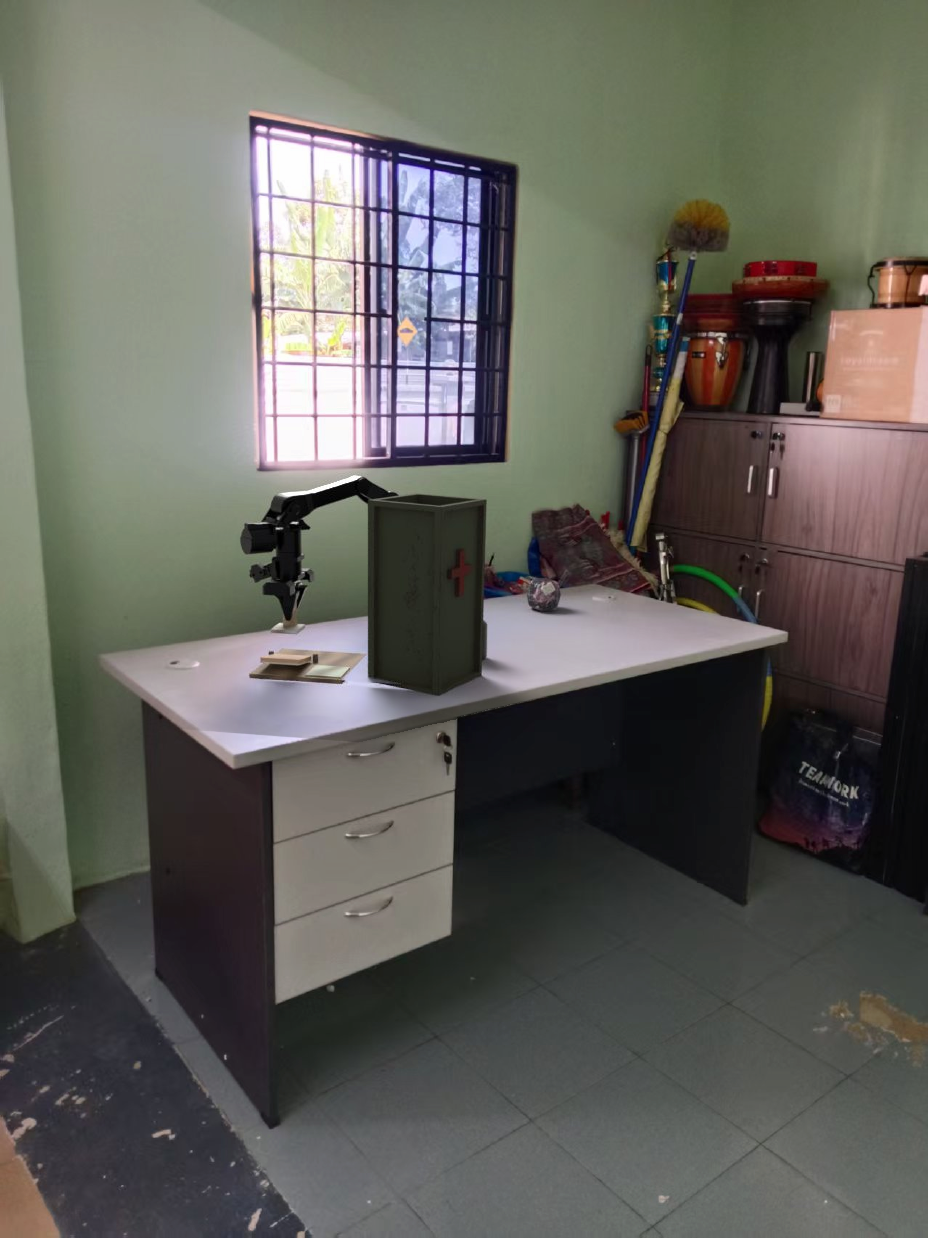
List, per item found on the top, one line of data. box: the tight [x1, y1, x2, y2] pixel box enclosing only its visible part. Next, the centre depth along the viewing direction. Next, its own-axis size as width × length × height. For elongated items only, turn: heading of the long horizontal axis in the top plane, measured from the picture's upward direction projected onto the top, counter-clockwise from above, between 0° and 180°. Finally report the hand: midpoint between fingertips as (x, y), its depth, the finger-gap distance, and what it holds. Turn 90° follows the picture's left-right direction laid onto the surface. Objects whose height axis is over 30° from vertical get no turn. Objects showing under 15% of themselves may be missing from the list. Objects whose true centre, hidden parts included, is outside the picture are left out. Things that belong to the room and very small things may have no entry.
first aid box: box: [367, 492, 488, 697], centre depth 215 cm, size 18×18×40 cm
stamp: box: [270, 602, 306, 635], centre depth 219 cm, size 6×6×8 cm
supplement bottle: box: [482, 614, 488, 661], centre depth 235 cm, size 7×7×12 cm
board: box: [248, 648, 367, 685], centre depth 225 cm, size 21×22×3 cm
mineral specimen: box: [526, 577, 562, 612], centre depth 290 cm, size 10×10×10 cm
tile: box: [259, 653, 311, 665], centre depth 222 cm, size 9×9×1 cm
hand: (290, 618), depth 221 cm, fingers closed on stamp, 2 cm apart
